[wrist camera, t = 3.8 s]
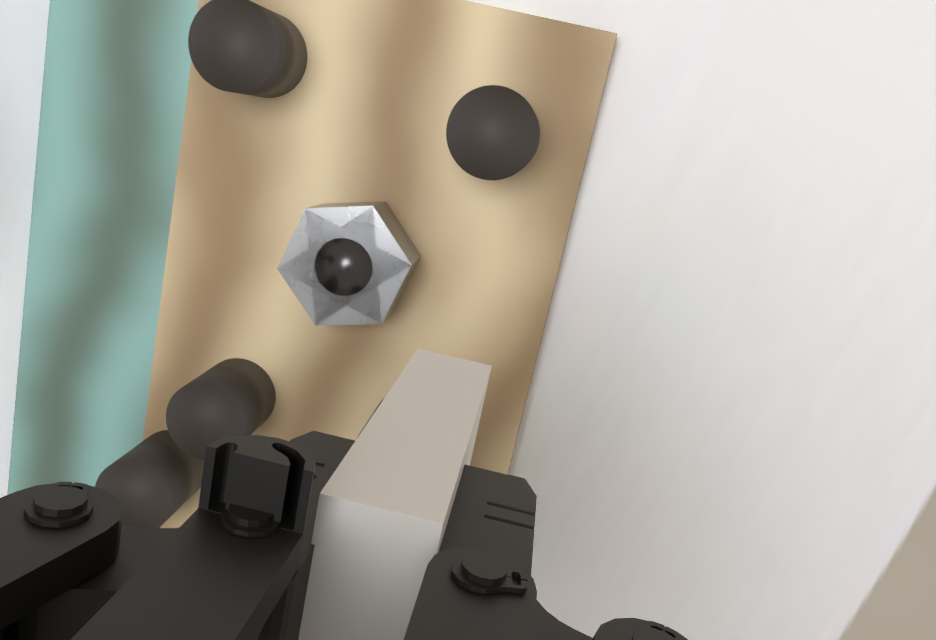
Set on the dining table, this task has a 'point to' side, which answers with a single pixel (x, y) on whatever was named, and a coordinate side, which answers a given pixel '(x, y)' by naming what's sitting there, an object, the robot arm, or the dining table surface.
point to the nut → (349, 262)
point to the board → (282, 222)
